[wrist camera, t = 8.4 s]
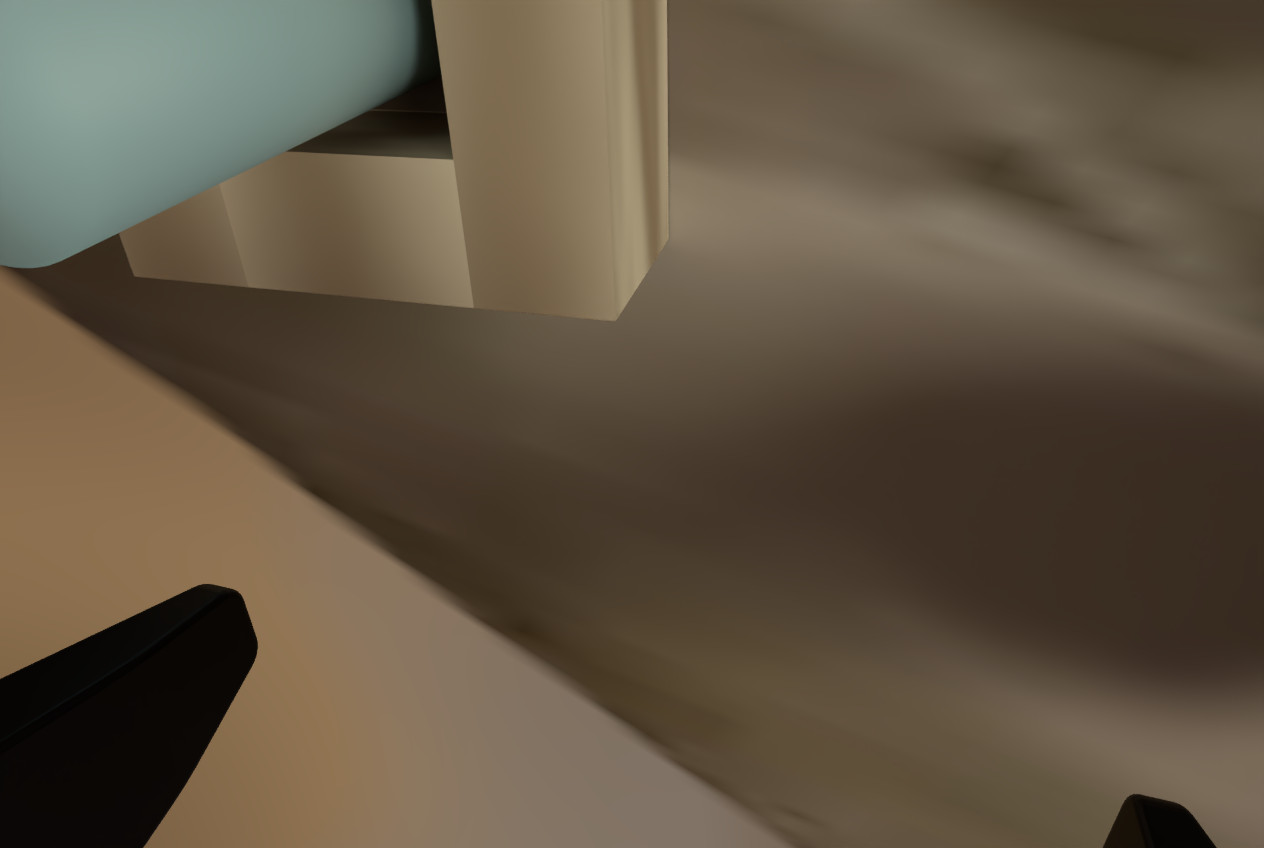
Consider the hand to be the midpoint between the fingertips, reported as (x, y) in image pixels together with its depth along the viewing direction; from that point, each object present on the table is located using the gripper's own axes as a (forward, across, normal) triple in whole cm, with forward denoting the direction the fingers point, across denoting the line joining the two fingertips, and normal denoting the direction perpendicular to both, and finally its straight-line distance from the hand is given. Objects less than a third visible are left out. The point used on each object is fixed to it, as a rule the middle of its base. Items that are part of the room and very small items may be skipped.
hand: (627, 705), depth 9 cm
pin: (+10, +8, -5) cm, 14 cm away
